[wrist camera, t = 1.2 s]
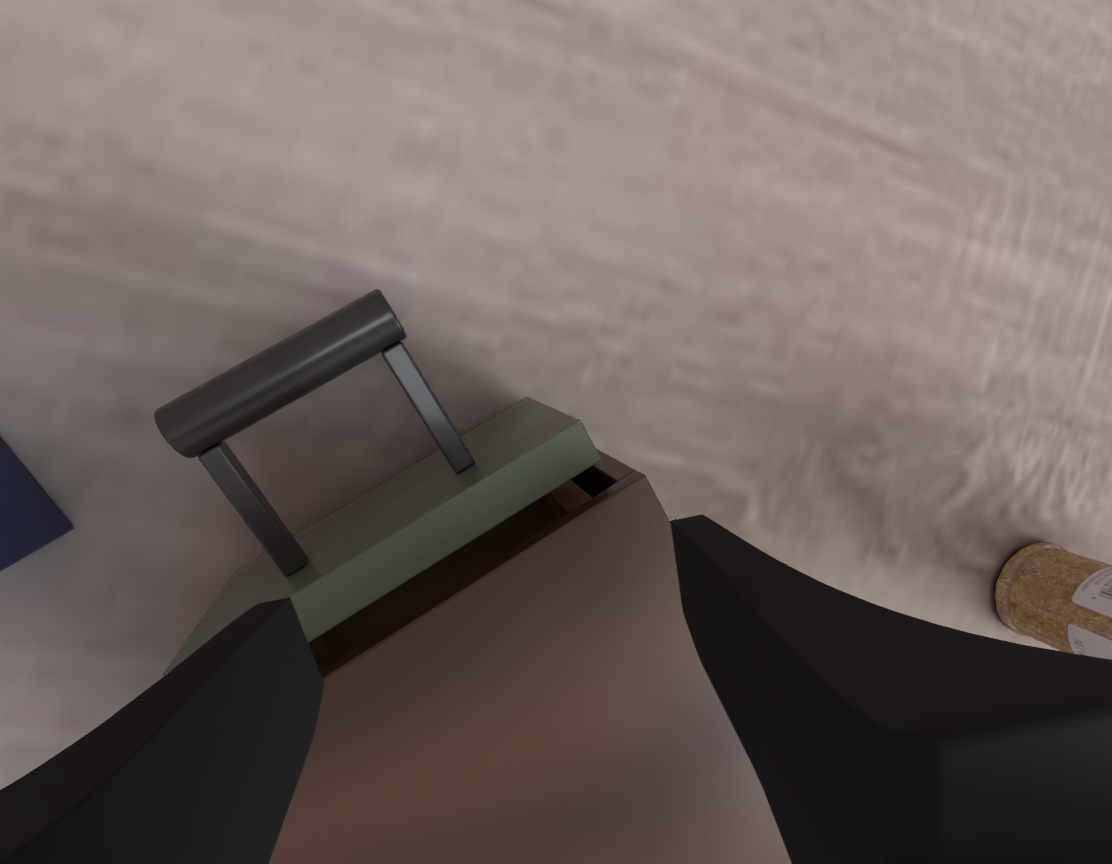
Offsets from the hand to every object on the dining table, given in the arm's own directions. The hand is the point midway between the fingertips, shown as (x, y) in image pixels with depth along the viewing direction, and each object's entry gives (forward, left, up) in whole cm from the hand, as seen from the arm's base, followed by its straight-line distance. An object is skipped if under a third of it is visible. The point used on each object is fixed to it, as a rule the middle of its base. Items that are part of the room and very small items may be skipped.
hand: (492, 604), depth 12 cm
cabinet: (+1, -7, -11) cm, 13 cm away
